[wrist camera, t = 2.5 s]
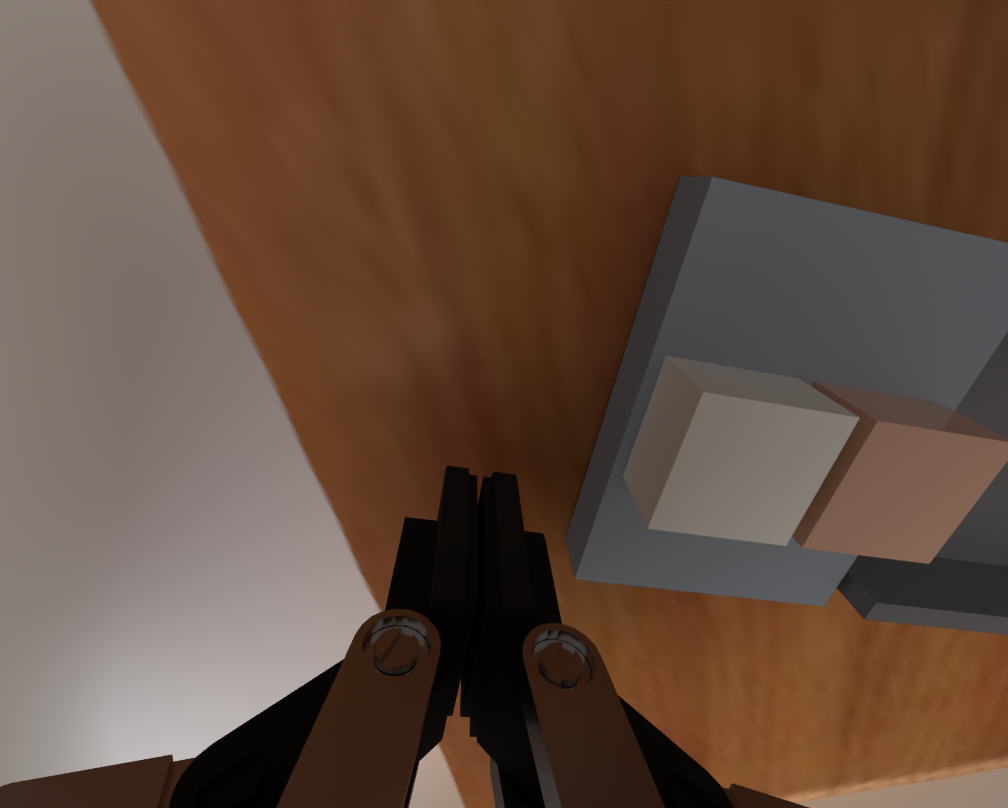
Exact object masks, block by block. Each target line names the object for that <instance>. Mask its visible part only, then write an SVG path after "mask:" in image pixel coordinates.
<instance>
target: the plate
mask: <svg viewBox="0 0 1008 808" xmlns="http://www.w3.org/2000/svg"><path fill="white" fill-rule="evenodd" d="M1007 332H1008V243H1006V242H1002V241H998V240H993V239H989V238H984V237H980V236H975V235H971V234H966V233H962V232H957V231H953V230H948V229H944V228H939V227H935V226H931V225H926V224H922V223H917V222H913V221H908V220H904V219H899V218H895V217H890V216H886V215H881V214H877V213H873V212H868V211H864V210H859V209H855V208H850V207H846V206H841V205H837V204H832V203H828V202H823V201H819V200H815V199H810V198H806V197H801V196H797V195H792V194H788V193H783V192H779V191H774V190H770V189H765V188H761V187H756V186H752V185H748V184H743V183H739V182H734V181H730V180H725V179H721V178H716V177H698V176H680V178H679V181H678V184H677V187H676V191H675V194H674V197H673V200H672V203H671V206H670V210H669V213H668V216H667V219H666V222H665V225H664V229H663V232H662V235H661V238H660V241H659V244H658V248H657V251H656V254H655V257H654V260H653V263H652V267H651V270H650V273H649V276H648V279H647V282H646V286H645V289H644V292H643V295H642V298H641V301H640V305H639V308H638V311H637V314H636V317H635V320H634V324H633V327H632V330H631V333H630V336H629V339H628V343H627V346H626V349H625V352H624V355H623V358H622V362H621V365H620V368H619V371H618V374H617V377H616V381H615V384H614V387H613V390H612V393H611V396H610V400H609V403H608V406H607V409H606V412H605V415H604V419H603V422H602V425H601V428H600V431H599V434H598V438H597V441H596V444H595V447H594V450H593V453H592V457H591V460H590V463H589V466H588V469H587V472H586V476H585V479H584V482H583V485H582V488H581V491H580V495H579V498H578V501H577V504H576V507H575V510H574V514H573V517H572V520H571V523H570V526H569V529H568V533H567V536H566V539H565V540H566V544H567V548H568V553H569V557H570V561H571V566H572V570H573V574H574V579H576V580H585V581H595V582H604V583H613V584H622V585H631V586H641V587H650V588H659V589H668V590H677V591H687V592H696V593H705V594H714V595H723V596H732V597H742V598H751V599H760V600H769V601H778V602H788V603H797V604H806V605H815V606H825V604H826V603H827V601H828V600H829V598H830V597H831V595H832V594H833V592H834V591H835V589H836V588H837V586H838V585H839V583H840V582H841V580H842V579H843V577H844V576H845V574H846V573H847V571H848V570H849V568H850V567H851V565H852V564H853V562H854V561H855V559H856V558H857V556H858V555H854V554H846V553H838V552H830V551H822V550H814V549H806V548H802V547H801V546H800V545H799V544H798V543H797V542H796V540H795V539H794V538H793V537H791V538H790V540H789V542H788V544H787V545H786V546H782V545H774V544H766V543H758V542H750V541H742V540H734V539H726V538H718V537H710V536H702V535H694V534H685V533H677V532H669V531H661V530H653V529H647V526H646V524H645V522H644V520H643V518H642V516H641V514H640V512H639V509H638V507H637V505H636V503H635V501H634V499H633V497H632V495H631V492H630V490H629V488H628V486H627V484H626V482H625V480H624V478H623V475H624V472H625V469H626V466H627V464H628V461H629V458H630V455H631V452H632V450H633V447H634V444H635V441H636V438H637V435H638V433H639V430H640V427H641V424H642V421H643V419H644V416H645V413H646V410H647V407H648V405H649V402H650V399H651V396H652V393H653V391H654V388H655V385H656V382H657V379H658V377H659V374H660V371H661V368H662V365H663V363H664V360H665V357H666V356H671V357H677V358H683V359H689V360H694V361H700V362H706V363H712V364H718V365H723V366H729V367H735V368H741V369H747V370H752V371H758V372H764V373H770V374H775V375H781V376H787V377H793V378H799V379H800V380H802V381H804V382H805V383H807V384H808V385H810V386H812V385H813V383H814V381H816V382H822V383H828V384H833V385H839V386H845V387H851V388H857V389H862V390H868V391H874V392H880V393H886V394H891V395H897V396H903V397H909V398H915V399H920V400H926V401H932V402H937V403H939V404H941V405H943V406H945V407H947V408H949V409H951V410H953V411H955V410H956V408H957V407H958V405H959V404H960V402H961V401H962V399H963V398H964V396H965V395H966V393H967V392H968V390H969V389H970V387H971V386H972V384H973V383H974V381H975V380H976V378H977V377H978V375H979V374H980V372H981V371H982V369H983V368H984V366H985V365H986V363H987V362H988V360H989V359H990V357H991V356H992V354H993V353H994V351H995V350H996V348H997V347H998V345H999V344H1000V342H1001V341H1002V339H1003V338H1004V336H1005V335H1006V333H1007Z"/></svg>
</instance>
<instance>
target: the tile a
mask: <svg viewBox="0 0 1008 808" xmlns="http://www.w3.org/2000/svg"><path fill="white" fill-rule="evenodd" d="M859 419H860V417H858V416H856V415H855V414H853V413H852V412H850V411H849V410H847V409H846V408H844V407H842V406H841V405H839V404H838V403H836V402H835V401H833V400H832V399H830V398H828V397H827V396H825V395H824V394H822V393H821V392H819V391H818V390H816V389H814V388H813V387H811V386H810V385H808V384H807V383H805V382H804V381H802V380H800V379H799V378H793V377H787V376H781V375H775V374H770V373H764V372H758V371H752V370H747V369H741V368H735V367H729V366H723V365H718V364H712V363H706V362H700V361H694V360H689V359H683V358H677V357H671V356H666V357H665V360H664V363H663V365H662V368H661V371H660V374H659V377H658V379H657V382H656V385H655V388H654V391H653V393H652V396H651V399H650V402H649V405H648V407H647V410H646V413H645V416H644V419H643V421H642V424H641V427H640V430H639V433H638V435H637V438H636V441H635V444H634V447H633V450H632V452H631V455H630V458H629V461H628V464H627V466H626V469H625V472H624V475H623V478H624V480H625V482H626V484H627V486H628V488H629V490H630V492H631V495H632V497H633V499H634V501H635V503H636V505H637V507H638V509H639V512H640V514H641V516H642V518H643V520H644V522H645V524H646V526H647V529H653V530H661V531H669V532H677V533H685V534H694V535H702V536H710V537H718V538H726V539H734V540H742V541H750V542H758V543H766V544H774V545H782V546H786V545H787V544H788V542H789V540H790V538H791V537H792V535H793V533H794V531H795V530H796V528H797V526H798V524H799V523H800V521H801V519H802V518H803V516H804V514H805V512H806V511H807V509H808V507H809V505H810V504H811V502H812V500H813V498H814V497H815V495H816V493H817V492H818V490H819V488H820V486H821V485H822V483H823V481H824V479H825V478H826V476H827V474H828V472H829V471H830V469H831V467H832V465H833V464H834V462H835V460H836V459H837V457H838V455H839V453H840V452H841V450H842V448H843V446H844V445H845V443H846V441H847V439H848V438H849V436H850V434H851V433H852V431H853V429H854V427H855V426H856V424H857V422H858V420H859Z"/></svg>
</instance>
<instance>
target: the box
mask: <svg viewBox="0 0 1008 808" xmlns="http://www.w3.org/2000/svg"><path fill="white" fill-rule="evenodd" d="M955 412H957V413H959V414H961V415H963V416H965V417H967V418H969V419H971V420H973V421H975V422H977V423H979V424H981V425H983V426H985V427H987V428H989V429H991V430H993V431H995V432H997V433H999V434H1001V435H1003V436H1005V437H1007V438H1008V332H1007V333H1006V335H1005V336H1004V338H1003V339H1002V341H1001V342H1000V344H999V345H998V347H997V348H996V350H995V351H994V353H993V354H992V356H991V357H990V359H989V360H988V362H987V363H986V365H985V366H984V368H983V369H982V371H981V372H980V374H979V375H978V377H977V378H976V380H975V381H974V383H973V384H972V386H971V387H970V389H969V390H968V392H967V393H966V395H965V396H964V398H963V399H962V401H961V402H960V404H959V405H958V407H957V408H956V410H955ZM837 588H838V590H839V591H840V592H841V593H842V594H843V595H844V597H845V598H846V599H847V600H848V601H849V602H850V603H851V605H852V606H853V607H854V608H855V609H856V610H857V612H858V613H859V614H860V615H861V616H862V617H863V619H865V620H874V621H884V622H893V623H903V624H912V625H921V626H931V627H940V628H950V629H959V630H969V631H978V632H987V633H997V634H1006V635H1008V461H1007V462H1006V464H1005V465H1004V466H1003V468H1002V469H1001V470H1000V472H999V473H998V474H997V475H996V477H995V478H994V479H993V481H992V482H991V483H990V485H989V486H988V487H987V489H986V490H985V491H984V493H983V494H982V495H981V496H980V498H979V499H978V500H977V502H976V503H975V504H974V506H973V507H972V508H971V510H970V511H969V512H968V514H967V515H966V516H965V518H964V519H963V520H962V521H961V523H960V524H959V525H958V527H957V528H956V529H955V531H954V532H953V533H952V535H951V536H950V537H949V539H948V540H947V541H946V543H945V544H944V545H943V546H942V548H941V549H940V550H939V552H938V553H937V554H936V556H935V557H934V558H933V560H932V561H931V562H930V564H926V563H918V562H910V561H902V560H894V559H886V558H878V557H870V556H862V555H858V556H857V558H856V559H855V561H854V562H853V564H852V565H851V567H850V568H849V570H848V571H847V573H846V574H845V576H844V577H843V579H842V580H841V582H840V583H839V585H838V586H837Z"/></svg>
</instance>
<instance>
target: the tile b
mask: <svg viewBox="0 0 1008 808" xmlns="http://www.w3.org/2000/svg"><path fill="white" fill-rule="evenodd" d="M811 387H813V388H814V389H816V390H818V391H819V392H821V393H822V394H824V395H825V396H827V397H828V398H830V399H832V400H833V401H835V402H836V403H838V404H839V405H841V406H842V407H844V408H846V409H847V410H849V411H850V412H852V413H853V414H855V415H856V416H858V417H860V419H859V420H858V422H857V424H856V426H855V427H854V429H853V431H852V433H851V434H850V436H849V438H848V439H847V441H846V443H845V445H844V446H843V448H842V450H841V452H840V453H839V455H838V457H837V459H836V460H835V462H834V464H833V465H832V467H831V469H830V471H829V472H828V474H827V476H826V478H825V479H824V481H823V483H822V485H821V486H820V488H819V490H818V492H817V493H816V495H815V497H814V498H813V500H812V502H811V504H810V505H809V507H808V509H807V511H806V512H805V514H804V516H803V518H802V519H801V521H800V523H799V524H798V526H797V528H796V530H795V531H794V533H793V535H792V537H793V538H794V539H795V540H796V542H797V543H798V544H799V545H800V546H801V547H802V548H806V549H814V550H822V551H830V552H838V553H846V554H854V555H862V556H870V557H878V558H886V559H894V560H902V561H910V562H918V563H926V564H930V562H931V561H932V560H933V558H934V557H935V556H936V554H937V553H938V552H939V550H940V549H941V548H942V546H943V545H944V544H945V543H946V541H947V540H948V539H949V537H950V536H951V535H952V533H953V532H954V531H955V529H956V528H957V527H958V525H959V524H960V523H961V521H962V520H963V519H964V518H965V516H966V515H967V514H968V512H969V511H970V510H971V508H972V507H973V506H974V504H975V503H976V502H977V500H978V499H979V498H980V496H981V495H982V494H983V493H984V491H985V490H986V489H987V487H988V486H989V485H990V483H991V482H992V481H993V479H994V478H995V477H996V475H997V474H998V473H999V472H1000V470H1001V469H1002V468H1003V466H1004V465H1005V464H1006V462H1007V461H1008V438H1007V437H1005V436H1003V435H1001V434H999V433H997V432H995V431H993V430H991V429H989V428H987V427H985V426H983V425H981V424H979V423H977V422H975V421H973V420H971V419H969V418H967V417H965V416H963V415H961V414H959V413H957V412H955V411H953V410H951V409H949V408H947V407H945V406H943V405H941V404H939V403H937V402H932V401H926V400H920V399H915V398H909V397H903V396H897V395H891V394H886V393H880V392H874V391H868V390H862V389H857V388H851V387H845V386H839V385H833V384H828V383H822V382H816V381H814V383H813V385H812V386H811Z"/></svg>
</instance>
